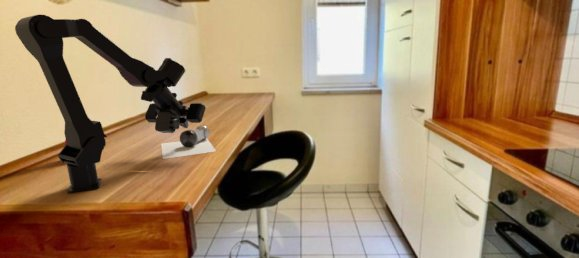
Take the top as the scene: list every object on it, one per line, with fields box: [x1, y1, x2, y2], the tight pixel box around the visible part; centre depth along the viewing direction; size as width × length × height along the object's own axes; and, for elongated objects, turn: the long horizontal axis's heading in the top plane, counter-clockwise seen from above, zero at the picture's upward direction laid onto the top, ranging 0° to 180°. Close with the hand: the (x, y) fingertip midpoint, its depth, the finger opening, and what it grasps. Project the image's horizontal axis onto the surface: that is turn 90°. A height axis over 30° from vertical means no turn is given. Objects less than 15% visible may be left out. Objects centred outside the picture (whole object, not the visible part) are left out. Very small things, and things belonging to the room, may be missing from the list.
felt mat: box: [160, 138, 217, 160], centre depth 112 cm, size 20×16×1 cm
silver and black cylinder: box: [179, 124, 211, 147], centre depth 116 cm, size 6×6×11 cm
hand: (186, 127), depth 111 cm, fingers closed
